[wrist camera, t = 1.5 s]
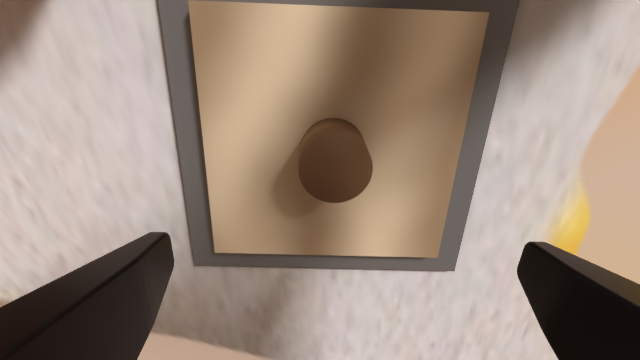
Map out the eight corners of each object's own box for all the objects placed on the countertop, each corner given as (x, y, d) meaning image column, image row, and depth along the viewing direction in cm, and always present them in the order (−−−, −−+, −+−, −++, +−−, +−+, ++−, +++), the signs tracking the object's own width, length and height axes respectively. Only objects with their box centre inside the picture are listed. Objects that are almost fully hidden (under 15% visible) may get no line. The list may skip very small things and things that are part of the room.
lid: (481, 12, 15) (523, 10, 12) (433, 249, 20) (454, 289, 17) (194, 1, 14) (162, -5, 11) (218, 244, 19) (200, 284, 16)
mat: (520, -26, 14) (525, -27, 14) (451, 266, 21) (454, 271, 20) (156, -42, 14) (151, -43, 14) (196, 260, 20) (194, 265, 20)
